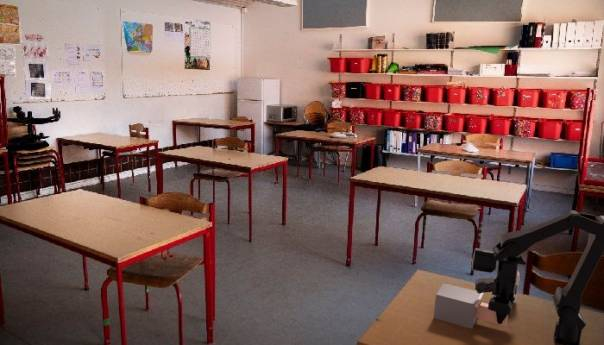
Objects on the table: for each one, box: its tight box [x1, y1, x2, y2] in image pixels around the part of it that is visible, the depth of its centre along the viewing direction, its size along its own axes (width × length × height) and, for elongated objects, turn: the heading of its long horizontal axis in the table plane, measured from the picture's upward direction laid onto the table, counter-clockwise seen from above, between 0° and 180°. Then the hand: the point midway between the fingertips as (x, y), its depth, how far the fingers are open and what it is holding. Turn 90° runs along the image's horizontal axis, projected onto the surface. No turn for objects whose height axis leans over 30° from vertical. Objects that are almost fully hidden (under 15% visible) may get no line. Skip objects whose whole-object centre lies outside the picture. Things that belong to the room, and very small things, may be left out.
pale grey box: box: [433, 283, 485, 330], centre depth 161 cm, size 13×10×8 cm
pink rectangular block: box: [475, 301, 509, 327], centre depth 157 cm, size 16×2×5 cm, turn 61°
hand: (499, 321), depth 155 cm, fingers closed on pink rectangular block, 2 cm apart
